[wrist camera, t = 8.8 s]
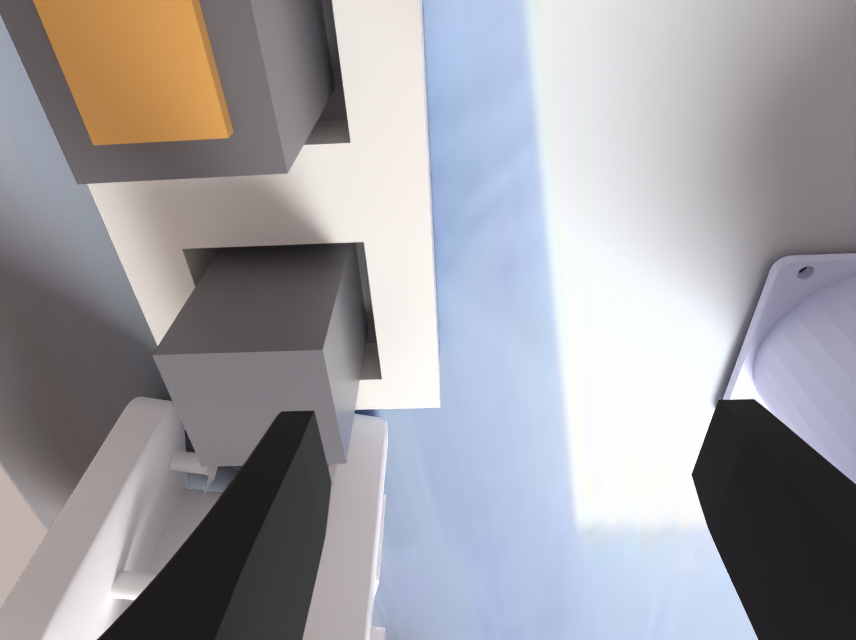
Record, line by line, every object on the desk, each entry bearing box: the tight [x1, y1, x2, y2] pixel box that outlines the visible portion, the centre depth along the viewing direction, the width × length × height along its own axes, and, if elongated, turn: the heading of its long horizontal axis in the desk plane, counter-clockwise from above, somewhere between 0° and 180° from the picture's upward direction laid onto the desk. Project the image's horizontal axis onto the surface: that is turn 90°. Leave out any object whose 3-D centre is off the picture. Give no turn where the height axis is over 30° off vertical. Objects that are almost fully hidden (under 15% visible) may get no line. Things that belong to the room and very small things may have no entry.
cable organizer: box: [0, 397, 388, 640], centre depth 22 cm, size 15×11×12 cm
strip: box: [88, 0, 440, 467], centre depth 13 cm, size 22×9×7 cm, turn 3°
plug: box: [0, 0, 335, 184], centre depth 12 cm, size 4×4×6 cm
